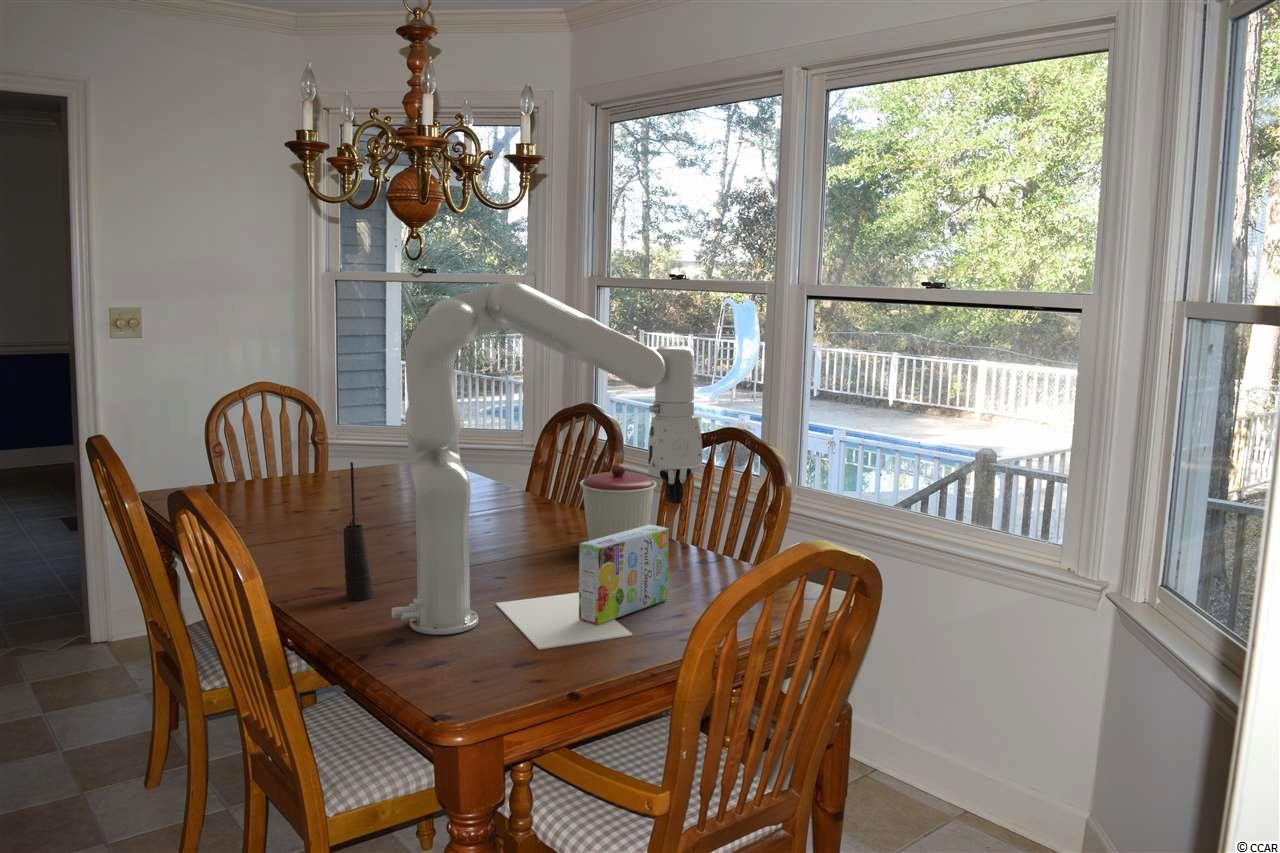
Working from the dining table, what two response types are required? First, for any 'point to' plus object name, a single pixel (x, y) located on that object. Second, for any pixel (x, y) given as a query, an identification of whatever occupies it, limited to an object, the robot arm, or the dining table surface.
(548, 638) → the mat
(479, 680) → the dining table surface
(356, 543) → the butter churn
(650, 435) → the robot arm
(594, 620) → the snack box
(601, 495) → the canister
